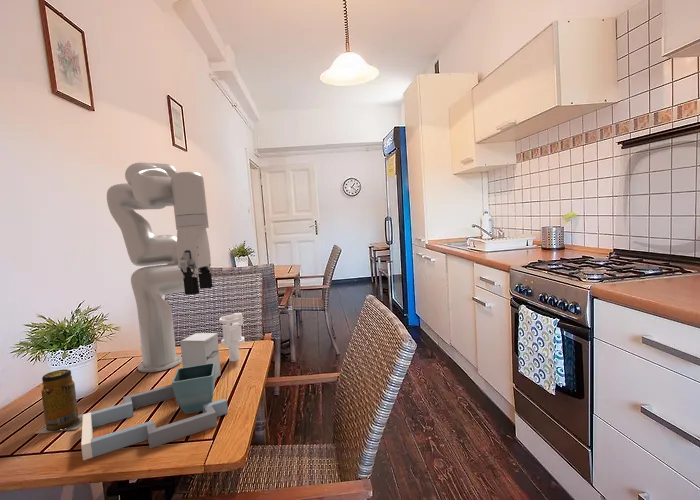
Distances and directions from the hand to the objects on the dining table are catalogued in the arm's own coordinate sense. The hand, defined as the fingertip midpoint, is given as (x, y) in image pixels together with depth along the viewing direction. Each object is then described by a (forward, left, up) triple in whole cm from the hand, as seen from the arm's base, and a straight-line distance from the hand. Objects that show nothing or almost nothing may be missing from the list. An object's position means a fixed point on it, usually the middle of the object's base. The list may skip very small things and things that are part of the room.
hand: (199, 291), depth 96 cm
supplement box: (-11, +1, -27) cm, 29 cm away
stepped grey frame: (+5, -13, -27) cm, 30 cm away
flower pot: (+5, -4, -27) cm, 28 cm away
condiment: (-7, -30, -27) cm, 41 cm away
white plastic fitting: (-21, +13, -27) cm, 37 cm away
